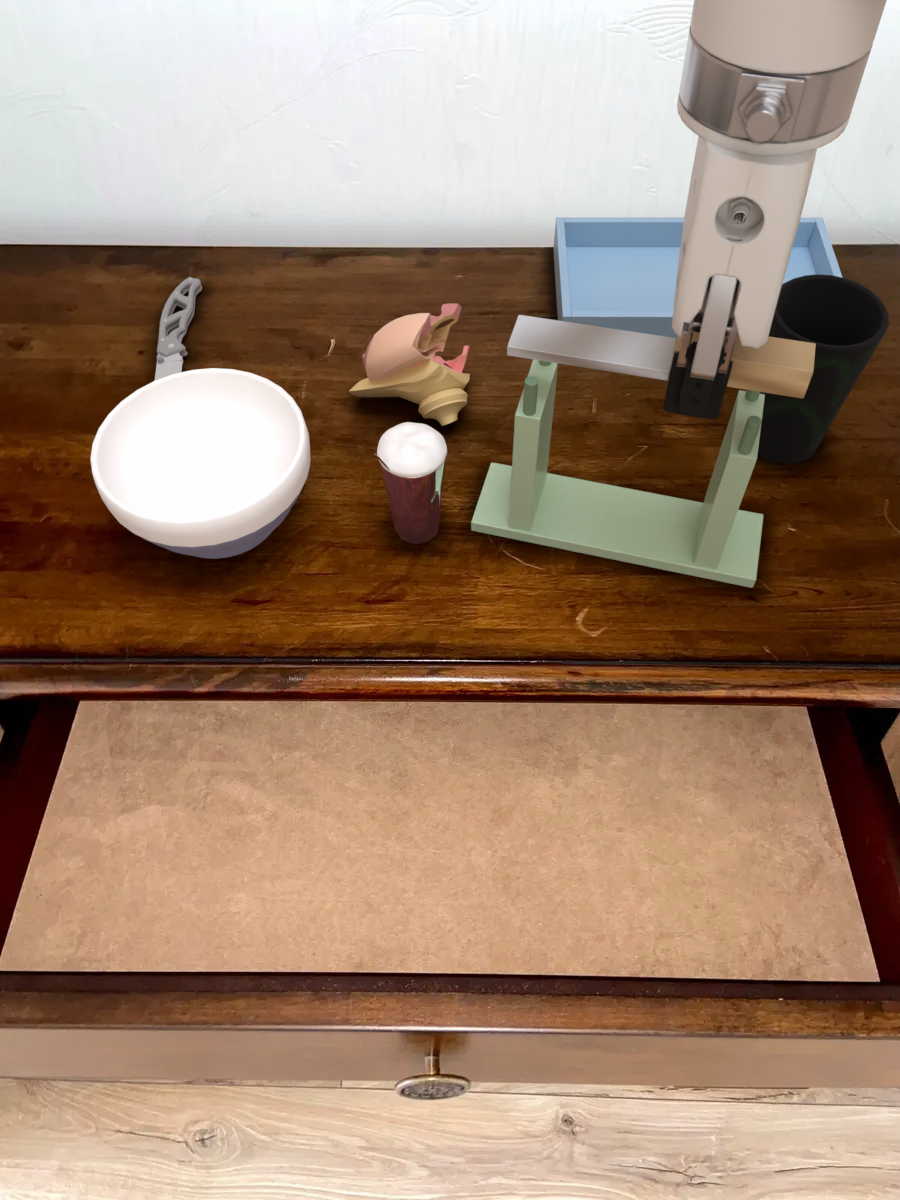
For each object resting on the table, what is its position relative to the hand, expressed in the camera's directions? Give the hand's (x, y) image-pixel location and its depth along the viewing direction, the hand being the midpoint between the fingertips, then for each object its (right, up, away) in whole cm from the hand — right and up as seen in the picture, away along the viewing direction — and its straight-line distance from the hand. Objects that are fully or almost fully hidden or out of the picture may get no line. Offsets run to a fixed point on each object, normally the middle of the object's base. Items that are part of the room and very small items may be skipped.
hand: (694, 392), depth 56 cm
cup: (+11, 0, +17) cm, 20 cm away
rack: (-3, -7, +12) cm, 14 cm away
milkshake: (-17, -7, +12) cm, 22 cm away
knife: (-37, +8, +23) cm, 45 cm away
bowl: (-31, -6, +13) cm, 34 cm away
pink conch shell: (-18, +4, +20) cm, 27 cm away
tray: (+7, +14, +26) cm, 30 cm away
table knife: (-3, +2, -1) cm, 3 cm away
